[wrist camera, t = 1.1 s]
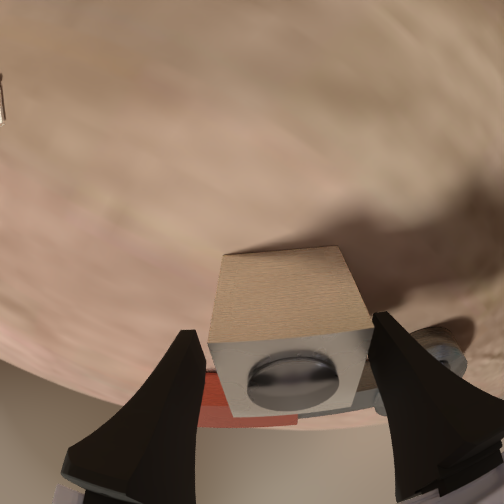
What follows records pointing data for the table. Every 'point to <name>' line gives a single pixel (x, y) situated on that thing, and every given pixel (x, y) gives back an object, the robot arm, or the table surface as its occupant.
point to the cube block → (288, 332)
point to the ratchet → (366, 396)
